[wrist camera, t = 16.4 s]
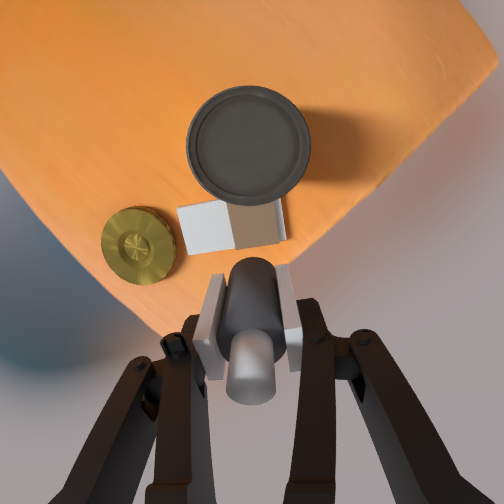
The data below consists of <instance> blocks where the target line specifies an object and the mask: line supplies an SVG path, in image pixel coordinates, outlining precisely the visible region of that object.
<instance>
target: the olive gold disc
mask: <svg viewBox="0 0 504 504" xmlns="http://www.w3.org/2000/svg"><path fill="white" fill-rule="evenodd" d="M101 247H102V252H103V255H104V258H105V260H106V262H107V263H108V265H109V267H110V268H111V269H112V270H113V271H114V272H115V273H116V274H117V275H118V276H119V277H120V278H122V279H123V280H125V281H127V282H129V283H132V284H136V285H151V284H154V283H156V282H158V281H160V280H162V279H163V278H164V277H165V276H166V275H167V274H168V272H169V270H170V269H171V267H172V265H173V264H174V261H175V259H176V254H177V247H176V242H175V238H174V235H173V233H172V231H171V229H170V227H169V226H168V224H167V223H166V222H165V221H164V220H163V219H162V218H161V217H160V216H159V215H158V214H157V212H156V211H154V210H152V209H150V208H146V207H142V206H134V207H129V208H125V209H123V210H121V211H119V212H118V213H116V214H114V215H113V216H112V217H111V218H110V219H109V220H108V221H107V223H106V224H105V226H104V228H103V232H102V236H101Z"/></svg>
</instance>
